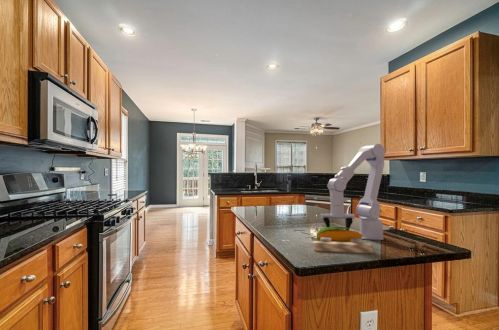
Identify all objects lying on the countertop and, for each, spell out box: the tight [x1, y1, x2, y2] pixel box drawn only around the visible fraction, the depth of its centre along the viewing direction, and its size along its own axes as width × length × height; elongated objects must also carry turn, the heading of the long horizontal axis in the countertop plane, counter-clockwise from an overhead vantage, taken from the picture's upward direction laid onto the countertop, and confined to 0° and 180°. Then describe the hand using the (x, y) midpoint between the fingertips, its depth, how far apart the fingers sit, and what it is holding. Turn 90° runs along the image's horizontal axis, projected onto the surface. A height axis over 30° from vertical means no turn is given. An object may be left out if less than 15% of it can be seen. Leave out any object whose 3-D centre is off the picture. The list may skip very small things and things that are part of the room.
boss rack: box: [313, 237, 374, 254], centre depth 102 cm, size 22×7×4 cm, turn 78°
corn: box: [316, 226, 363, 242], centre depth 109 cm, size 7×8×20 cm
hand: (337, 234), depth 113 cm, fingers open, 7 cm apart
